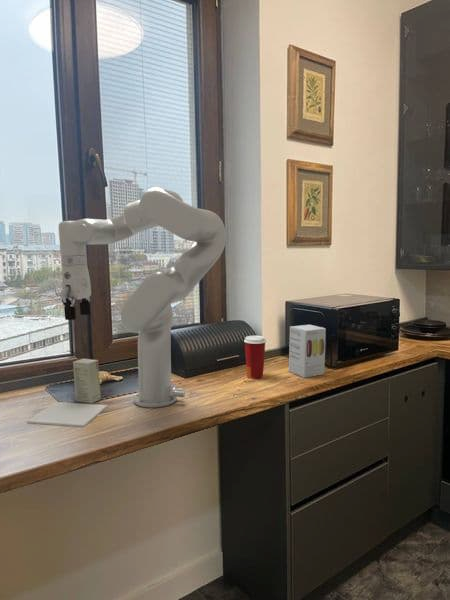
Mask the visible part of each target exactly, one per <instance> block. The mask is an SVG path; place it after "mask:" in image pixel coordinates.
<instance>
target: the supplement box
mask: <svg viewBox="0 0 450 600" xmlns="http://www.w3.org/2000/svg"><path fill="white" fill-rule="evenodd" d="M326 331H327V330H326V328H325V327H323V326H318V325H314V324H313V325H312V324H301V325H294V326H293V325H291V326H289V346H288V347H289V352H288V353H289V355H288V372H290V373H291V374H295V375H297V376H299V377H300V378H301V377H302V378H304V379H305V378H311V377H317V375H318V376H321V375H322V376H323V375H325V363H326V335H327V333H326Z"/></svg>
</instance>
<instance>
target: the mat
mask: <svg viewBox="0 0 450 600" xmlns="http://www.w3.org/2000/svg"><path fill="white" fill-rule="evenodd" d="M106 408H108V404H98V403H97V404H94V403H92V404H91V403H82V402H61V401H55V402H53V403H52V404H51V405H49V406H48V407H46V408H44V409H43V410H42V411H40V412H38V413H37V414H35V415H34V416H32V417H31V418H29V419H28V420H26V423H27V424H36V425H37V424H38V425H39V424H40V425H51V426H52V425H53V426H67V427H79V428H85V427H86V426H87V425H89V423H90V422H92V421H93V420H94V419H95V418H96V417H98V416H99V415H100V414H101V413H102V412H103V411H104V410H105V409H106Z"/></svg>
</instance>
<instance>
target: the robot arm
mask: <svg viewBox="0 0 450 600" xmlns="http://www.w3.org/2000/svg"><path fill="white" fill-rule="evenodd" d="M156 227H160V228H162V229H164V230H166V231H167V232H169V233H171V234H173V235H175V236H177V237H179V238H181V239H183V240H186V241H190V242H193V243H191V245H190V246H189V247H188V248H186V249H185V251H183V253H182V254H181V255H180V256H179V257H178V259H177V260H176V261H175V262H174V263H173V264H172V265H171V266H170V267H168V268H165V269H159V270H156V271H154V272H152V273H151V274H149V275H148V276H146V278H145V279H144V280H143V281H142V282H141V284H140V285H138V287H137V288H136V290H134V292H133V293H132V294H131V296H129V298H128V299H127V301H126V302H125V303H124V304H123V306H122V309H121V312H120V321H121V324H122V326H123V327H124V328H125V329H126V331H128V332H130V333H133V334H137V335H138V336H137V365H138V366H137V368H138V371H137V372H138V393H137V394H136V395H134V397H133V402H134V404H135V405H137V406H139V407H142V408H162V407H166V406H169V405H172V404H174V403H175V402H176V401H177V399H178V398H185V397H186V391H185V390H184V388H176V387H175V383H172V361H171V358H172V357H171V355H172V353H171V352H172V351H171V347H172V346H171V345H172V343H171V333H172V323H173V315H174V314H173V313H174V312H173V306H172V304H175V303H179V302H180V301H183V300H185V299H186V298H187V297H189V296H188V295H189V294H191V293H192V291H193V290H194V289H195V287H196V286H197V285H198V284H199V282H200V281H201V280H202V279H203V278H204V277H205V275H206V274H207V273H208V272H209V270H211V268H213V266H214V265H215V264H216V262H218V260H219V258H220V257H221V255H222V253H223V251H224V249H225V247H226V242H227V241H226V240H227V233H226V227H225V224H224V222H223V221H222V219H221V217H220V216H219V215H218V214H217V213H215V212H214V211H211V210H208V209H203V208H198V207H194V206H193V205H190V204H188V203H187V202H184V200H183V198H182V197H181V196H180V195H179V194H178V193H177V192H175V191H173V190H169V189H166V188H161V187H151V188H149V189H147V190H146V191H144V192H143V194H142V195H141V196H140V199H138V200H136V201H132V202H129V203H127V204H126V205H125V206H124V208H123V213H122V214H120V215H117V216H114V217H111V218H108V219H100V218H81V219H78V220H62V221H60V222H59V224H58V236H59V237H58V238H59V250H60V262H61V268H62V271H61V284H62V285H61V287H62V290H61V292H60V294H59V295H60V298H61V302H62V306H63V307H64V308H63V309H64V310H63V311H64V319H65V320H66V321H75V320H76V319H77V314H76V306H75V301H76V300H80V302H79V310H80V311H79V313H80V315H82V316H89V315H91V296H92V285H91V277H90V271H89V268H88V255H87V245H109V244H110V245H111V244H115V243H117V242H120V241H121V242H122V241H123V240H126V239H130V238H131V237H133V236H136V235H137V234H138V233H141V232H143V231H147V230H150V229H153V228H156Z"/></svg>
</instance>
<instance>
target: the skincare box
mask: <svg viewBox="0 0 450 600" xmlns="http://www.w3.org/2000/svg"><path fill="white" fill-rule="evenodd" d="M72 366H73V379H74V380H73V381H74V395H75V402H77V403H83V404H94V403H95V402H96V403H97V401H100V400H101V399H102V398H101V396H102V395H101V382H100V367H99V360H98V359H91V358H80V359H77V360H75V361H72Z"/></svg>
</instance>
